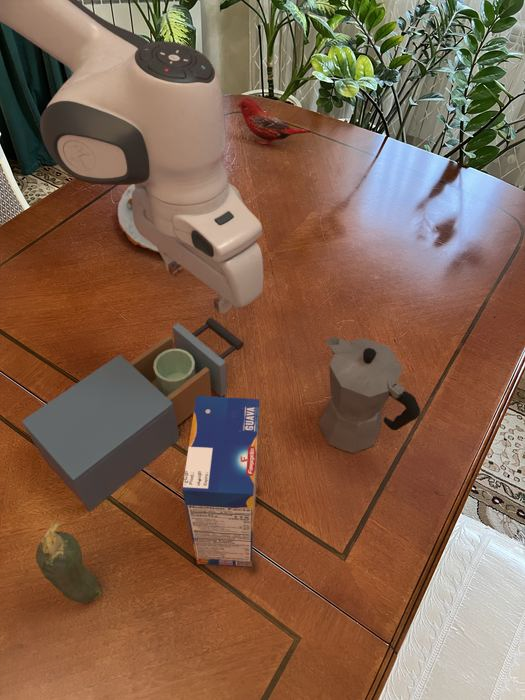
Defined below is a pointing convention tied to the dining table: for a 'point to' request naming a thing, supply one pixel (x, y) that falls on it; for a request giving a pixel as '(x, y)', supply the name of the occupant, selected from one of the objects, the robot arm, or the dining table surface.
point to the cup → (173, 370)
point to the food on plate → (128, 221)
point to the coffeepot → (362, 394)
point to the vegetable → (66, 566)
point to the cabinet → (103, 430)
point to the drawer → (206, 365)
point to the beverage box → (222, 479)
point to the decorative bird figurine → (265, 123)
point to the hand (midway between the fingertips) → (198, 289)
